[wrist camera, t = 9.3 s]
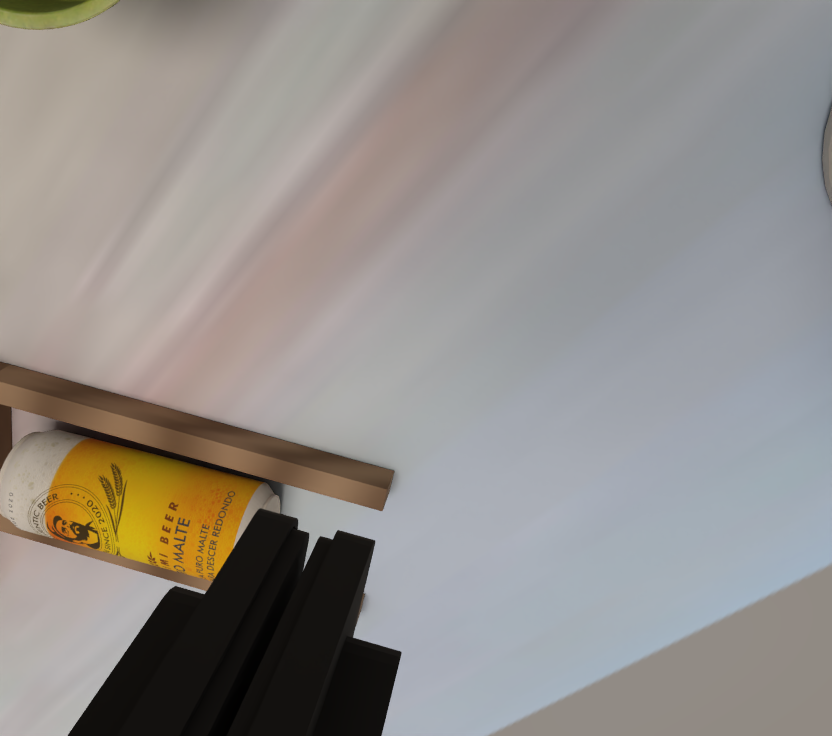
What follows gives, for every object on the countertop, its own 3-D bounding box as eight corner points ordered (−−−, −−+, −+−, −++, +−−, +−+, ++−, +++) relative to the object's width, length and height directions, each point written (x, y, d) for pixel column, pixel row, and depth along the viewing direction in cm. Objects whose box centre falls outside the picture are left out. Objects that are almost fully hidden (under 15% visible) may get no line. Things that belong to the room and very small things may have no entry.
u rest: (394, 471, 44) (380, 510, 40) (360, 611, 49) (345, 657, 45) (-14, 358, 46) (-63, 386, 42) (-8, 504, 50) (-52, 541, 47)
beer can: (243, 613, 43) (-2, 546, 44) (280, 539, 48) (60, 481, 49) (246, 535, 39) (-17, 466, 41) (286, 465, 45) (51, 406, 46)
